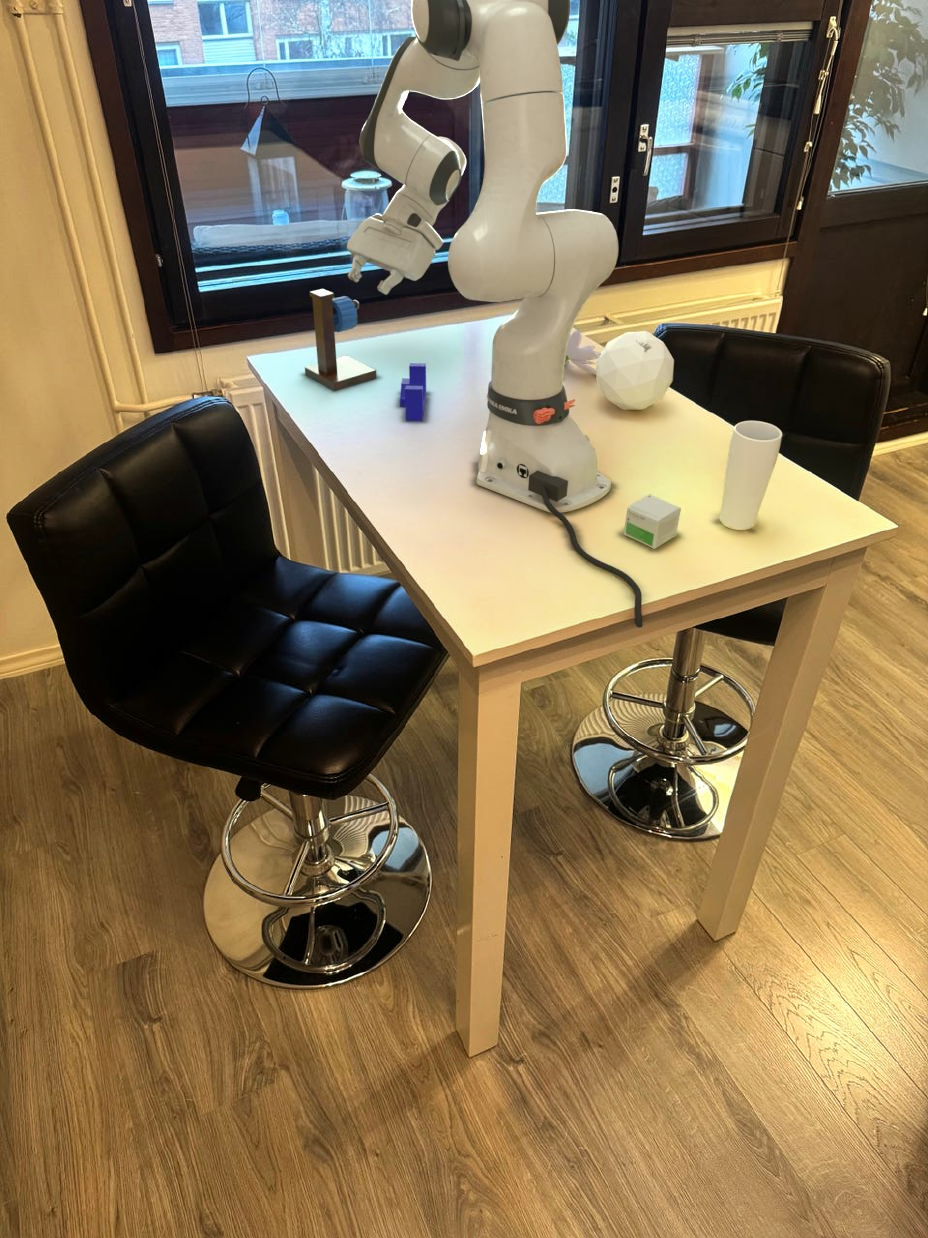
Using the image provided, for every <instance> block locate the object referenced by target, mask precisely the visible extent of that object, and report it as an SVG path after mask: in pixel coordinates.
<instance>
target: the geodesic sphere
mask: <svg viewBox="0 0 928 1238" xmlns="http://www.w3.org/2000/svg"><path fill="white" fill-rule="evenodd" d="M674 365H675V359H674V358H673V356H672V354H671V353H670V351H669V349H668V347H667V346H666V344H665V343H664V341H662V340H661V339H659V338H658V337H656V336H655V335H653V334H652V333H650V332H649V331H648V330H643V331H641V330H640V331H635V330H632V331H626V332H624V333H623V334H621V335H619V336H617V337H615V338H613V339H611V340H610V341H607V343H606V344H605V345H604V348H603V349H602V351H601V355H600V356H599V358H598V359H596V371H597V372H596V375H595V378H596V379H595V381H596V384H597V386H598V387H599V389H600V390H601V392H602V394H603V395H604V397H605V399H606V400H608V401H609V402H611V403H612V404H614V405H615V406H616V407H618V408H619V409H621V410H622V411H628V410H629V411H636V410H637V411H641V410H645V409H646V408H649V407H650V406H652V405H655V404H656V403H658V402H660V401H662V400H663V398H664V396H665V395H666V393H667V391H668V390H669V388H670V386H671V385H672V383H673V381H674V367H675V366H674Z"/></svg>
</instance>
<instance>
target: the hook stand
mask: <svg viewBox="0 0 928 1238" xmlns="http://www.w3.org/2000/svg"><path fill="white" fill-rule="evenodd" d="M309 297H311V301H312V311H313V312H312V313H313V322H314V323H313V324H314V334H315V344H316V345H315V346H316V360H317V363H315V364H311V365H308V366H305V367H304V375H305V376H306V377H308V378H310V379H312V380H314V381H315V382H318V383H319V384H321V385H323V386H324V387H326V388H328V389H329V390H332V391H338V390H341V389H346V388H348V387H351V386H355V385H358V384H362V383H364V382H368V381H371V380H375V379H377V370H376V369H375V368H372V367H371V366H368V365H367V364H365V363H362V362H361V361H358V360H357V359H354V358H352V357H351V356H348V355H342V356H339V357H337V348H336V334H335V333H336V332H334V318H333V314H335V313H338V312H337V310H336V309H335V308H334V307H333V304H332V299H334V298H335V293H334V292H333V291H329V290H328V289H327V290H326V289H324V288H320V289H316V290H312V291H311V290H310V291H309ZM351 300H352V299H351ZM352 302H353V303H354V305H355V308H356V310H358V309H359V308H360V302H359V301H358V300H356V299H353V300H352Z"/></svg>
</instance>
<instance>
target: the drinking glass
mask: <svg viewBox="0 0 928 1238" xmlns="http://www.w3.org/2000/svg"><path fill="white" fill-rule="evenodd" d="M782 438H783V432H782V430H781V429H780V428H778V427H777V426H776V425H774V424H772V423H768V422H764V421H760V420H744V421H740V422H738V423H737V424H735V425H734V427H733V431H732V434H731V438H730V442H729V445H728V451H727V457H726V467H725V473H724V474H725V475H724V481H723V482H724V483H723V484H724V485H723V490H722V497H721V498H722V499H721V506H720V511H719V515H718V517H719V521H720V523H721V524H722V525H723V526H725V527H726V528H728V529H731V530H736V531H747V530H750V529H752V528H753V527H754V526H755V525H756V523H757V520H758V515H759V512H760V509H761V507H762V503H763V500H764V498H765V494H766V492H767V489H768V487H769V483H770V480H771V478H772V475H773V473H774V470H775V466H776V464H777V461H778V457H779V453H780V448H781V445H782V444H781V443H782V440H783V439H782Z"/></svg>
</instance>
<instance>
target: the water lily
mask: <svg viewBox="0 0 928 1238" xmlns="http://www.w3.org/2000/svg"><path fill="white" fill-rule="evenodd" d="M581 342H582V333H581V331H580V330H579V329H576V330H574V331H573V332H571V333H570V337H569V340H568V345H567V351H566V358H565V365H567V364H569V363H570V362H571V363H572V364H573V365H575V366H577V367H578V369H580V370H583V371H585V372H587V373H588V374H590V375H593V376H594V375H595V376H596V372H597V369H595V368H594V367H592V366H590V365H596V362H594V361H593V360H598V358H599V356H600V355H601V353H602V352H601V353H600V352H599V351H594V350H595V348H596V346H594V345H585V346H582V347H580V345H581Z"/></svg>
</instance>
